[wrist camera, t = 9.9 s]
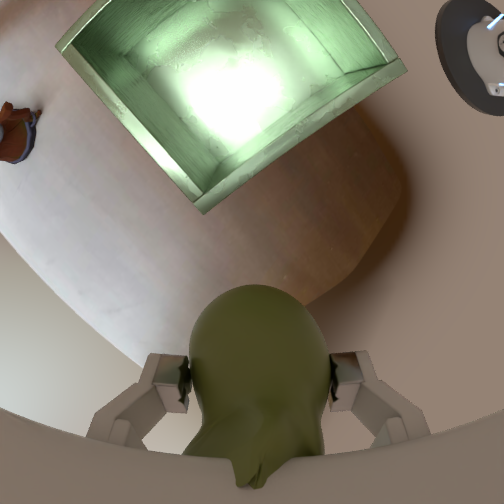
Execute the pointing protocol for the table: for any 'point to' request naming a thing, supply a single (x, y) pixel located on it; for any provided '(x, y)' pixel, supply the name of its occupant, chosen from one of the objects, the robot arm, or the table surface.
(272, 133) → the bin
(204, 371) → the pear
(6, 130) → the mug
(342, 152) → the table surface
